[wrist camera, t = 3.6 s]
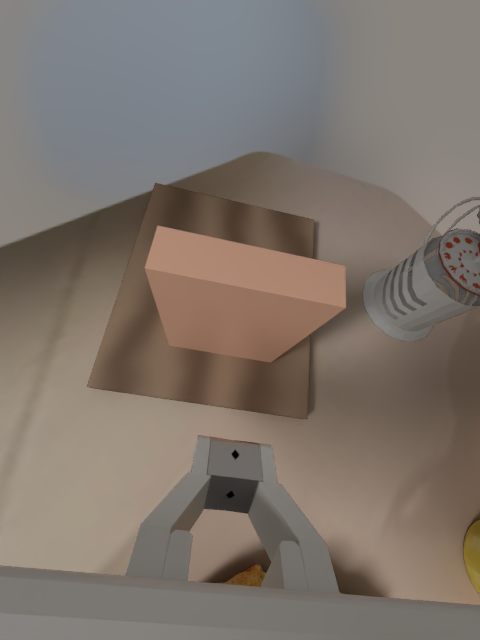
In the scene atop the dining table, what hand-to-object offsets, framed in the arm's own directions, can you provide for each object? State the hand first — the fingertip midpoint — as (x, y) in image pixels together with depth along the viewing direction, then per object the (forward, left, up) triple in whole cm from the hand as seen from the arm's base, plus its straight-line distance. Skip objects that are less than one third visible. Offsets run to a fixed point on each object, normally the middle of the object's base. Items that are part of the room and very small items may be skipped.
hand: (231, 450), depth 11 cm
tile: (0, +8, -14) cm, 16 cm away
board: (-1, +14, -15) cm, 21 cm away
